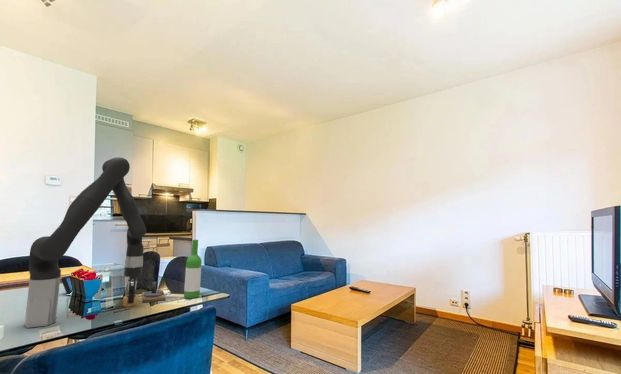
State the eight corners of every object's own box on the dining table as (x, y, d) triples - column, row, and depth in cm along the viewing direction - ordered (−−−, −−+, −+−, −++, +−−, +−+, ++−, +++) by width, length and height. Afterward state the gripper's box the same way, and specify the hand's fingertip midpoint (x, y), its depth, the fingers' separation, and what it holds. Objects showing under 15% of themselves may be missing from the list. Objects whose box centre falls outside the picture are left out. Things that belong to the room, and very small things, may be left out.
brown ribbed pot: (138, 305, 145) (138, 297, 145) (122, 307, 142) (123, 298, 142) (138, 302, 150) (138, 294, 150) (123, 303, 147) (123, 295, 148)
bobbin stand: (165, 300, 154) (166, 284, 155) (142, 302, 150) (143, 286, 150) (162, 293, 168) (163, 278, 169) (142, 295, 164) (143, 279, 164)
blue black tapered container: (81, 297, 156) (83, 279, 157) (58, 296, 158) (60, 277, 159) (105, 290, 172) (107, 273, 173) (84, 289, 174) (85, 272, 174)
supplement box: (93, 297, 156) (95, 272, 157) (100, 300, 152) (103, 274, 154) (76, 301, 150) (79, 274, 151) (83, 303, 146) (86, 276, 147)
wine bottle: (180, 298, 160) (184, 239, 163) (189, 294, 168) (193, 238, 170) (193, 299, 158) (197, 240, 161) (202, 295, 166) (205, 239, 169)
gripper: (125, 263, 152) (122, 298, 151) (124, 268, 140) (120, 306, 138) (142, 262, 156) (139, 296, 154) (142, 267, 143) (139, 304, 142)
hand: (130, 301), depth 146 cm, fingers closed on brown ribbed pot, 6 cm apart
